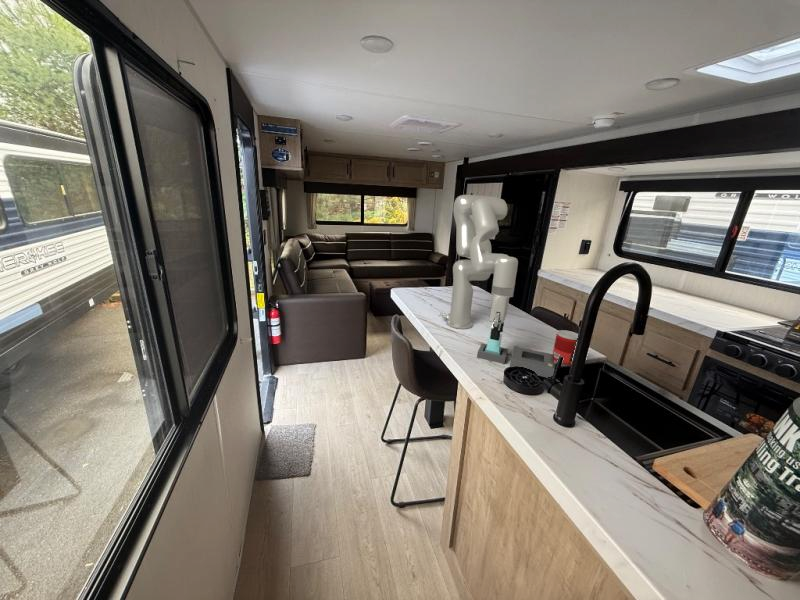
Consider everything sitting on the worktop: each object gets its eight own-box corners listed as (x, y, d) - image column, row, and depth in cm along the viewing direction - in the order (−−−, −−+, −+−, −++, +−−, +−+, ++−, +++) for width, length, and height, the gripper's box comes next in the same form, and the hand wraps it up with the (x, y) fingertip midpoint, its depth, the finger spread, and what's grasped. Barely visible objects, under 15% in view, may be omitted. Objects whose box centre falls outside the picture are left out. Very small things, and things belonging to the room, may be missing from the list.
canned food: (574, 367, 113) (580, 339, 110) (550, 361, 117) (556, 334, 114) (575, 359, 119) (581, 333, 116) (552, 353, 123) (558, 328, 120)
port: (509, 368, 109) (511, 356, 108) (512, 355, 120) (514, 344, 119) (552, 379, 104) (555, 366, 103) (551, 364, 114) (554, 353, 113)
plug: (484, 356, 117) (487, 334, 115) (486, 352, 121) (489, 331, 119) (498, 360, 115) (502, 338, 113) (500, 355, 119) (503, 334, 117)
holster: (476, 357, 116) (477, 351, 116) (481, 348, 124) (482, 343, 123) (504, 364, 112) (505, 357, 112) (507, 354, 120) (507, 348, 119)
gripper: (495, 285, 120) (489, 326, 124) (488, 294, 105) (482, 341, 109) (515, 288, 117) (509, 330, 121) (511, 297, 102) (504, 345, 106)
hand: (496, 335), depth 115 cm, fingers open, 9 cm apart
